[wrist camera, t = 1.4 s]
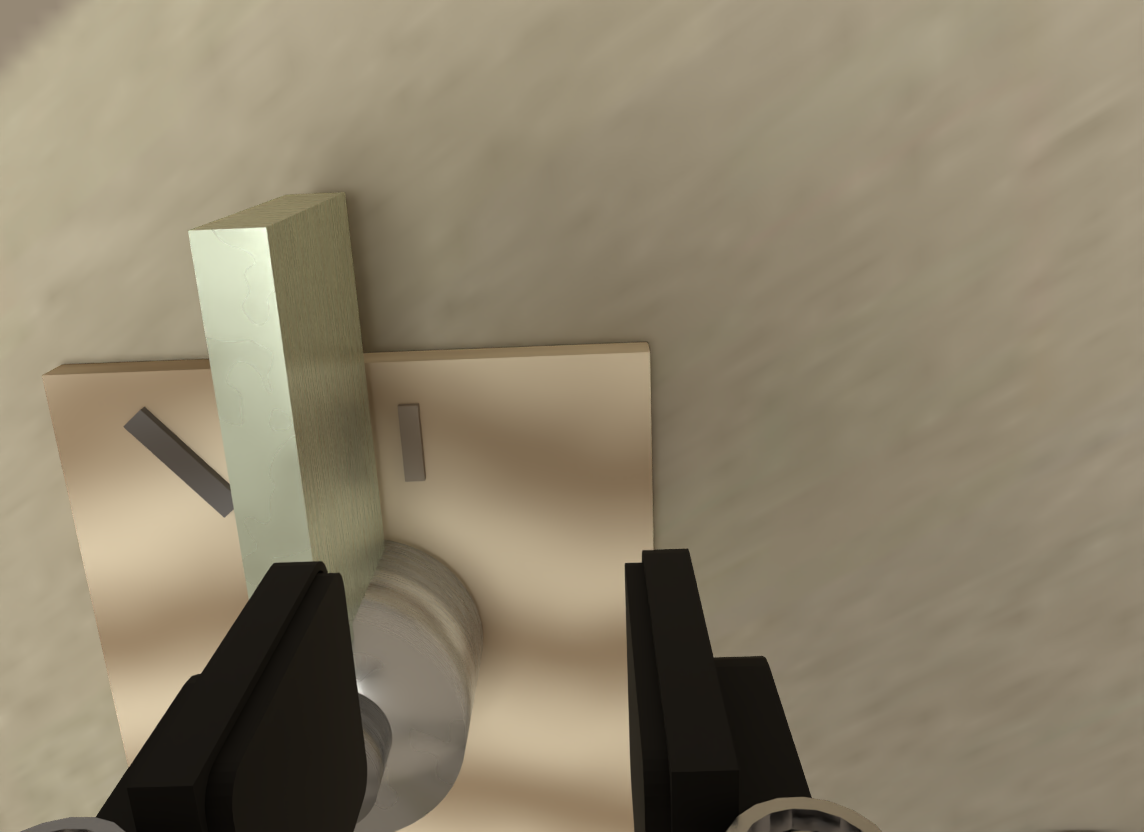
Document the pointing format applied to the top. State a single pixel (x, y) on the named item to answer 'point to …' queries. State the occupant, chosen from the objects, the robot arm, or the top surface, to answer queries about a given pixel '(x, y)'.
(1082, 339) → the top surface
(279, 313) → the green panel with knob
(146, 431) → the board
